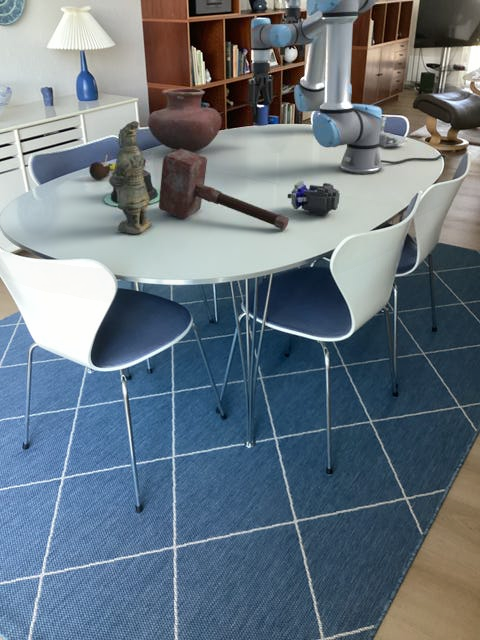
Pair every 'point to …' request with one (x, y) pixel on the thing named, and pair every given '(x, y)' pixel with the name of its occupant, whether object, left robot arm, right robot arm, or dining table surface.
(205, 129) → the clay pot
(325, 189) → the toy
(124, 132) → the statue
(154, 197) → the chocolate cake
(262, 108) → the can
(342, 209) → the dining table surface
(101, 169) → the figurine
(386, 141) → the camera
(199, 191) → the sledgehammer
